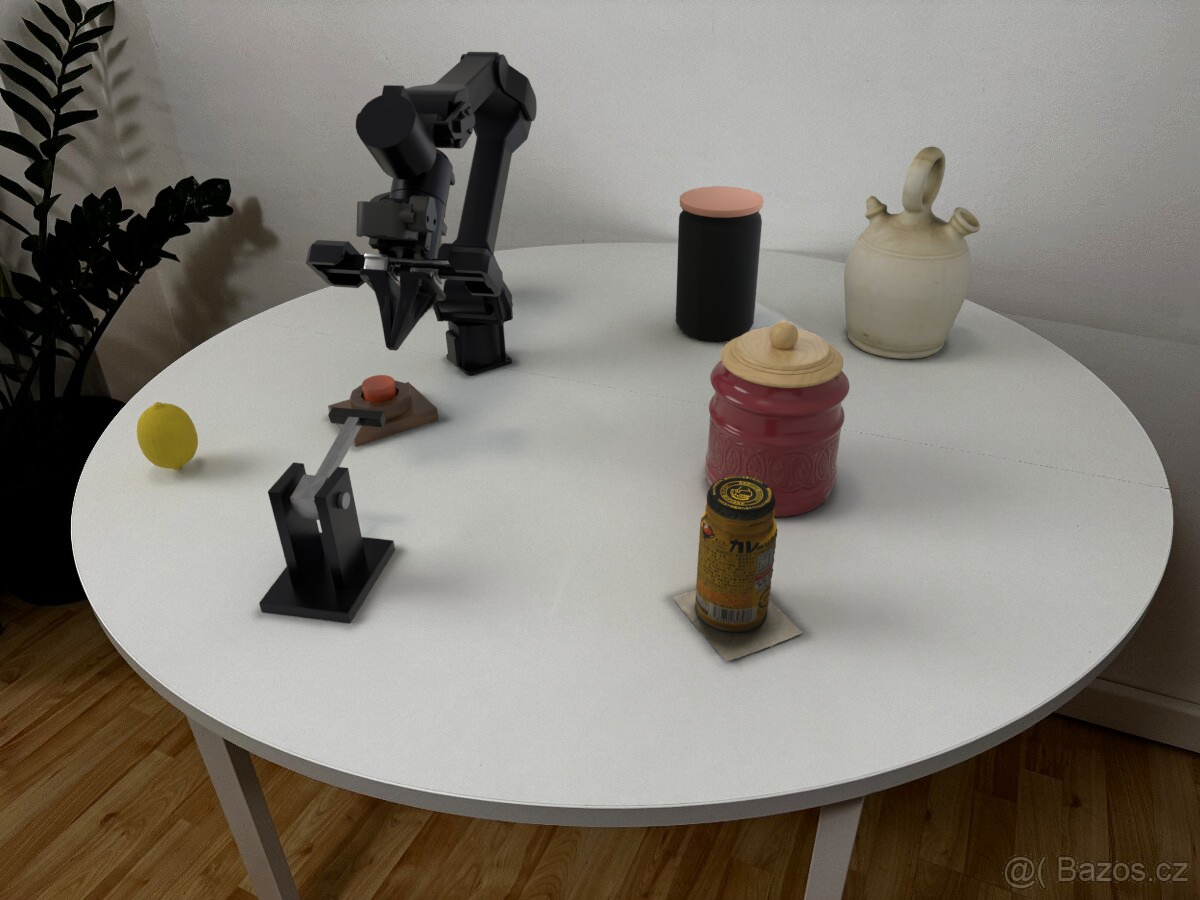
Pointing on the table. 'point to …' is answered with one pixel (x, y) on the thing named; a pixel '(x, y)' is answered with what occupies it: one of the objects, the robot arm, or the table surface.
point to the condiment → (737, 570)
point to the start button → (379, 388)
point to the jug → (909, 269)
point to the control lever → (332, 456)
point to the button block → (391, 412)
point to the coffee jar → (717, 262)
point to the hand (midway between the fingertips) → (391, 349)
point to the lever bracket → (323, 552)
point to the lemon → (167, 436)
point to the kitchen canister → (778, 414)
